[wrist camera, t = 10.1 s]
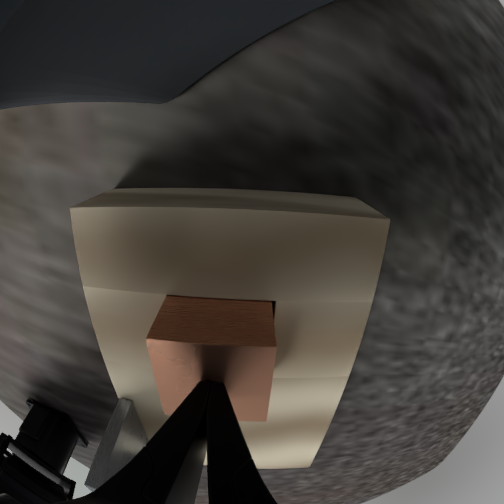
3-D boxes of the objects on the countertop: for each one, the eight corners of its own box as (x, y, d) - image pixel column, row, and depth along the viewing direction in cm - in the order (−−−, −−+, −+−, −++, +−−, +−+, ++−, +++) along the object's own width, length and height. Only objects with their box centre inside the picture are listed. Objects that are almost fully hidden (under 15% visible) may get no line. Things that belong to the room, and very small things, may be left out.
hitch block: (304, 426, 20) (309, 466, 16) (156, 417, 20) (145, 455, 16) (355, 197, 13) (390, 219, 9) (113, 188, 13) (69, 207, 9)
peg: (261, 324, 16) (266, 421, 10) (190, 321, 16) (164, 414, 10) (266, 259, 14) (276, 346, 8) (186, 255, 14) (145, 338, 8)
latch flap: (135, 520, 10) (123, 517, 10) (153, 450, 15) (142, 448, 15) (99, 490, 8) (84, 484, 8) (132, 400, 13) (119, 398, 13)
